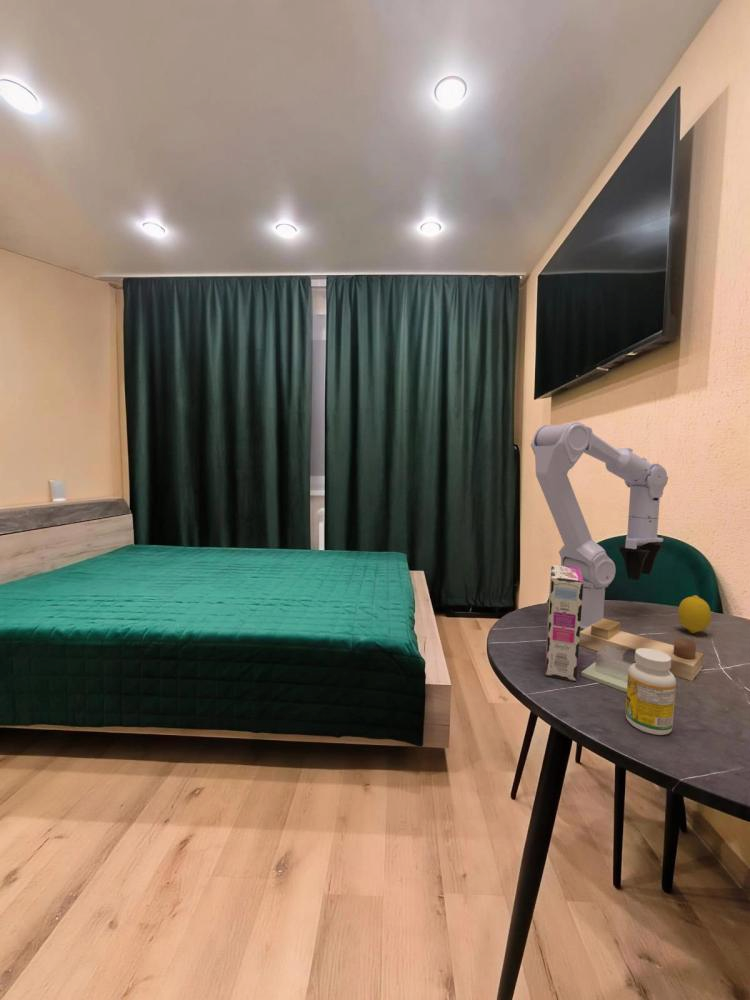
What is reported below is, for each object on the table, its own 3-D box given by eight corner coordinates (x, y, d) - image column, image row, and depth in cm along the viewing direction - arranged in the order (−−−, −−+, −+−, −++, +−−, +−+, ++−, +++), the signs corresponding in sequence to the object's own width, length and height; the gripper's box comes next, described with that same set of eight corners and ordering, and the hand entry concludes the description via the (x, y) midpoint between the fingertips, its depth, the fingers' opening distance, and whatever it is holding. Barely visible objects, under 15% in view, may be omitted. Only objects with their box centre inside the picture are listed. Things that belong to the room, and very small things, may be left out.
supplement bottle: (669, 742, 54) (675, 668, 53) (621, 724, 57) (625, 655, 56) (674, 722, 58) (679, 653, 57) (629, 707, 61) (633, 642, 60)
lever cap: (594, 670, 71) (596, 647, 70) (605, 662, 74) (606, 640, 73) (642, 687, 66) (644, 662, 65) (652, 678, 68) (653, 653, 68)
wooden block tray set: (578, 644, 82) (579, 620, 82) (593, 635, 87) (594, 612, 86) (692, 681, 69) (694, 651, 68) (702, 667, 74) (704, 639, 73)
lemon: (703, 630, 91) (706, 593, 90) (714, 640, 85) (717, 601, 85) (672, 626, 92) (675, 590, 92) (681, 636, 87) (684, 597, 87)
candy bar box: (579, 683, 68) (584, 581, 66) (545, 676, 70) (549, 577, 68) (575, 654, 78) (580, 566, 77) (546, 649, 80) (550, 563, 79)
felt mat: (580, 675, 70) (581, 672, 70) (602, 659, 76) (602, 656, 76) (643, 698, 64) (643, 694, 63) (661, 678, 70) (661, 675, 69)
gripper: (653, 521, 89) (649, 585, 90) (673, 516, 98) (669, 574, 99) (616, 518, 94) (612, 578, 95) (638, 513, 104) (635, 568, 105)
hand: (639, 576), depth 98 cm, fingers open, 7 cm apart
